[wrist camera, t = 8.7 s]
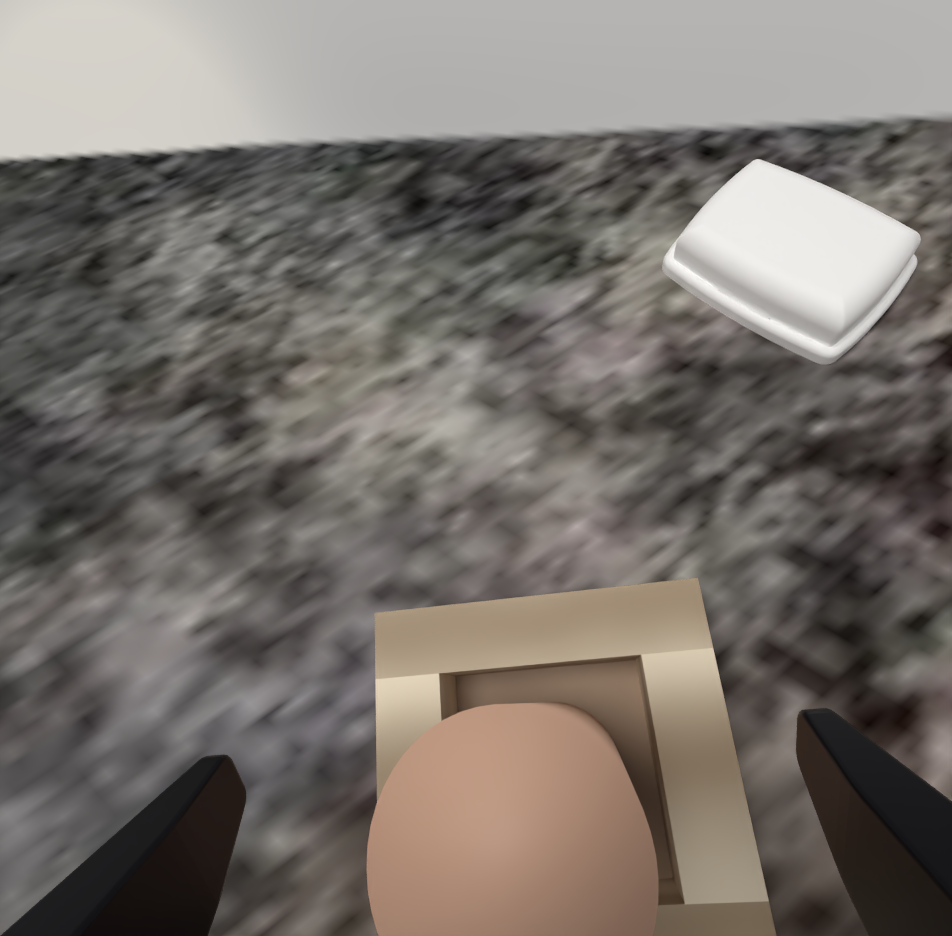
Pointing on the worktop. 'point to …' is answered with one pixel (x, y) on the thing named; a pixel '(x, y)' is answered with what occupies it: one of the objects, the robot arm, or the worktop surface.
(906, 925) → the robot arm
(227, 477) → the worktop surface
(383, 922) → the dowel
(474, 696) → the socket block
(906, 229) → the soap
